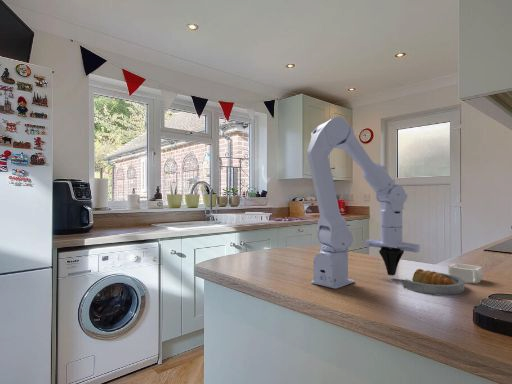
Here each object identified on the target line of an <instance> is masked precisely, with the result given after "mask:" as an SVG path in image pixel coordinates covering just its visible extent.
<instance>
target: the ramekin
mask: <svg viewBox="0 0 512 384" xmlns="http://www.w3.org/2000/svg"><path fill="white" fill-rule="evenodd" d="M447 269H448V275H452V276H455V277H458V278H461V279H462V280H463V281H464V284H480V283H481V280H483V267H482V266H480V265H474V264H473V265H472V264H465V263H452V264H450V265H448V268H447Z"/></svg>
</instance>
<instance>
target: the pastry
mask: <svg viewBox="0 0 512 384" xmlns="http://www.w3.org/2000/svg"><path fill="white" fill-rule="evenodd" d="M436 272H437V271H435V270H433V271H431V270H424V269H421V268H418V269H416V270H415V271H414V273H413V275H412V280H411V281H414V282H419V283H424V284H433V285H451V284H454V282H453V281H452V280H451V279H449V278H447V277H445V276H443V275H441V274H438V273H439V272H438V273H436Z"/></svg>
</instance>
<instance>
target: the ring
mask: <svg viewBox="0 0 512 384" xmlns="http://www.w3.org/2000/svg"><path fill="white" fill-rule="evenodd" d="M435 272H436V273H438V274H441V275H443V276H445V277H447V278H449V279H451V280H452V281H453V282H454V284H451V285H433V284H424V283H419V282H414V281H412V280H411V279H410V280H409V279H408V278H407V279H403V281H402V283H403V284H402V286H403V287H404V288H403V289H406V288H407V290H409V289H410V291H412V290H413V292H417V291H418V293H421V292H422V294H428V293H429V294H430V295H436V294H444V295H443V296H446V295H445V294H448V295H447V296H450V295H449V294H453V295H459V294H461V293H462V294H463V293H464V292H465V283H464V281H463V280H462V279H461V278H458V277H455V276H452V275H449V273H448V274H447V273H443V272H437V271H435Z"/></svg>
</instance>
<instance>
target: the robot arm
mask: <svg viewBox="0 0 512 384" xmlns="http://www.w3.org/2000/svg"><path fill="white" fill-rule="evenodd" d="M348 123H349V122H348V121H347V120H346V119H345V118H343V117H341V116H334V117H332V118H330V119H329V120H327V121H326V122H323V123H320V124H319V125H317V126H316V127H315V128H314V129H313V131H312V132H311V133H310V137H311V138H310V141H309V144H308V147H307V152H306V155H307V161H308V165H309V170H310V175H311V180H312V183H313V189H314V194H315V198H316V203H317V208H318V211H319V218H318V220H317V227H318V229H317V233H316V235H317V239H318V242H319V243H320V244H321V245H320V251H319V253H317V254H316V255H315V256H314V258H313V279H312V280H311V281H310V283H311V284H314V285H317V286H318V285H319V286H323V287H326V288H330V289H339V288H342V287H344V286H348V285H349V284H352V283H355V281H356V280H354V279H350V278H349V248H350V247H351V246H352V243H353V239H354V238H353V237H354V236H353V233H352V231H351V229H350V228H348V224H347V221H346V219H345V218H344V217H343V215H342V214H341V211H340V207H339V202H338V197H337V194H336V193H337V192H336V189H335V188H336V187H335V184H334V179H333V174H332V173H333V172H332V170H331V165H330V164H331V163H330V159H329V155H330V154H331V153H332V151H333V150H334V149H339V150H344V151H345V153H347V154H348V156H350V158H351V159H353V161H354V162H356V164H357V165H358V166H359V167H360V169H362V178H363V179H364V180H365V181H366V183H368V185H369V186H370V187H371V188H372V190H373V191H374V193H375V198H376V199H375V200H376V201H378V202H379V203H380V205H379V206H380V239H371V238H370V239H366V240H365V247H367V248H368V247H370V248H371V247H373V248H380V249H379V250H378V252H379V255H380V256H381V258H382V260H383V263H384V265H385V268H386V271H387V276H392V277H393V276H395V275H396V274H397V269H398V266H399V263H400V260H401V258H402V256H403V255H404V252H412V253H416V254H417V253H420V249H421V247H420V244H416V243H411V242H404V241H403V210H404V204H405V203H406V201H407V200H408V199H407V198H408V194H407V192H406V191H405V189H404V187H403V186H402V185H400V184H397V183H396V181H395V179H394V178H392V177H391V176H390V174H389V173H388V172H387V170H386V166H385V165H383V164H382V165H381V163H377V162H374V161H373V160H372V158H371V157H370V155H369V154H368V153H367V152H366V150H365V148H364V147H363V146H362V144H361V143H360V141H359V140H358V138H357V137H356V134H355V132H354V129H353V127H352V126H350V125H349V124H348Z"/></svg>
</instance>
